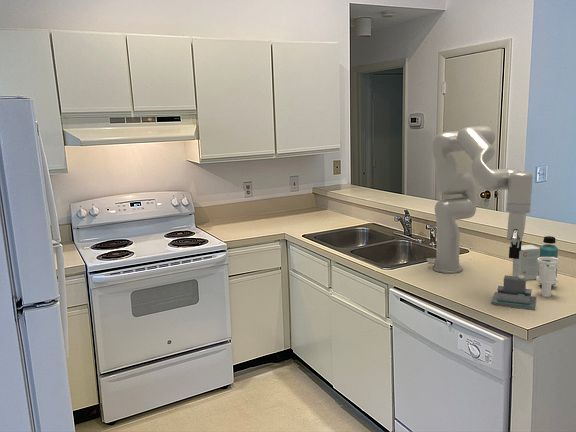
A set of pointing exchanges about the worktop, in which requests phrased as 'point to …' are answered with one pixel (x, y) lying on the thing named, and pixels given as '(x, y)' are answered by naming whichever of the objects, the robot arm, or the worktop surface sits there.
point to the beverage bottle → (549, 251)
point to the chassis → (514, 300)
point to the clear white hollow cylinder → (547, 274)
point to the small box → (527, 262)
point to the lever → (514, 285)
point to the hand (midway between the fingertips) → (514, 254)
